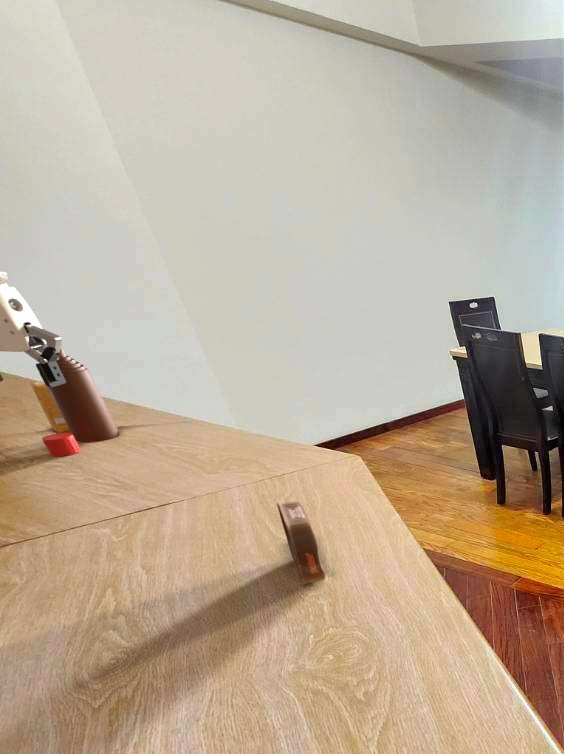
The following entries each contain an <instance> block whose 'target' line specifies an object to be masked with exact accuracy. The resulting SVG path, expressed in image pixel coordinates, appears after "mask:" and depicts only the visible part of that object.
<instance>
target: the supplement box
mask: <svg viewBox="0 0 564 754" xmlns="http://www.w3.org/2000/svg"><path fill="white" fill-rule="evenodd" d="M30 386H31V388H32V389H33V392H34V394H35V396H36V398H37V400H38V402H39V404H40V406H41V408H42V410H43V413H44V414H45V416H46V419H47V420H48V422H49V425H50V427H51V429H53V432H54V434H60V433H71V431H70V429H69V428H68V426H67V424H66V422H65V420H64V418H63V416H62V415H61V413H60V411H59V409H58V407H57V405H56V403H55V402H54V400H53V398H52V396H51V394H50V392H49V390H48V389H47V387H46V385H45V383H44V381H35V382H30ZM71 434H72V433H71Z"/></svg>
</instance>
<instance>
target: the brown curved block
mask: <svg viewBox="0 0 564 754" xmlns="http://www.w3.org/2000/svg"><path fill="white" fill-rule="evenodd" d="M276 505H277V510H278V513H279V516H280V521H281V524H282V527H283V530H284V531H283V532H284V534H285V537H286V542H287V545H288V548H289V549H288V550H289V551H290V555H291V557H292V560H293V564H294V566H295V570H296V572H297V574H298V577H299V580H300V583H301V585H302V586H305V585H307V584H311V583H316V582H321V581H324V580H325V579H326V578H327V577H326V571H325V569H324V567H323V565H322V562H321V558H320V554H319V553H320V552H319V544H318V540H317V537H316V534H315V531H314V528H313V525H312V522H311V519H310V518H309V515H308V513H307V510H306V508H305V506H304V504H303V503H302V502H301V501H300V500H295V501H287V502H286V501H285V502H277V503H276Z"/></svg>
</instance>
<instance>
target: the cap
mask: <svg viewBox="0 0 564 754" xmlns="http://www.w3.org/2000/svg"><path fill="white" fill-rule="evenodd" d="M41 440H42V442H43V444H44V446H45V447H46V449H47V451H48V453H49V454H50V456H52V457H65V456H64V455H68V456H71V455H70V454H73V455H76V454H78V453H77V452H79V453H80V452H81V451H82V450H81V447H80V445H79V442H77V441H76V440H75V438H74V437H73V435H72V434H71V433H60V434H57V433H54V434H48V435H46V436H43V437H42V438H41ZM75 453H76V454H75Z"/></svg>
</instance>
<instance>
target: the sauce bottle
mask: <svg viewBox="0 0 564 754" xmlns="http://www.w3.org/2000/svg"><path fill="white" fill-rule="evenodd" d="M46 347H47V346H46ZM60 348H61V349H62V352H61V354H60V355H59V360H57V361H56V362H57V364H58V366H59V368H60V370H61V372H62V374H63V376H64V378H65V380H66V383H65V384H61V385H58V386H55V387H48V386H46V387H47V389H48V390H49V392H50V394H51V396H52V398H53V400H54V402H55V403H56V405H57V407H58V409H59V411H60V413H61V415H62V416H63V418H64V420H65V422H66V424H67V426H68V428H69V429H70V431H71V433H72V435H73V437H74V438H75V440H76V442H77V441H79V442H78V443H96V442H97V443H98V442H103V441H108V440H112V439H115V438H117V437H119V436H120V435H121V433H120V431H119V429H118V427H117V425H116V423H115V420H114V419H113V417H112V415H111V412H110V411H109V409H108V407H107V405H106V402H105V400H104V398H103V397H102V394H101V393H100V391H99V389H98V386H97V385H96V383H95V381H94V379H93V377H92V374H91V373H90V371H89V368H87V367H86V366H85V365H84V364H81V362H79V361H76V359H74V358H71V357H70V356H69V355H67V354H66V352H65V350H64V348H63V347H62V345H61V347H60ZM39 375H40V373H39ZM40 377H41V375H40ZM42 382H44V380H43V379H42ZM44 383H45V382H44ZM45 385H46V384H45ZM119 434H120V435H119ZM95 441H96V442H95Z"/></svg>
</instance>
